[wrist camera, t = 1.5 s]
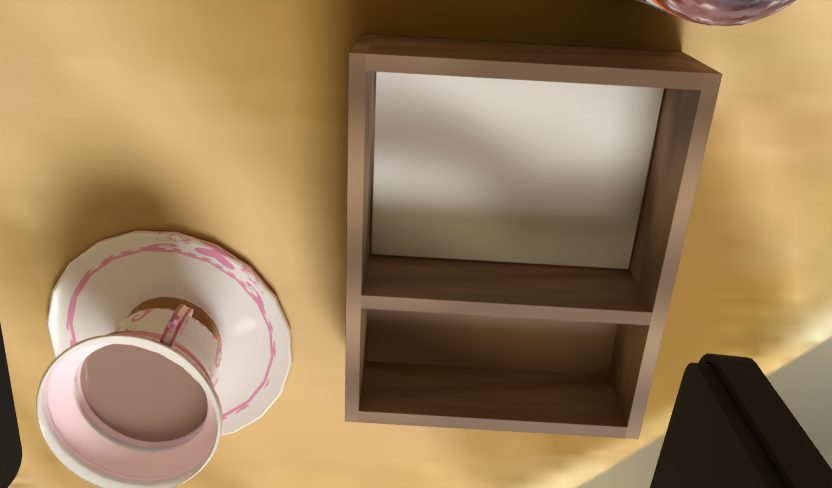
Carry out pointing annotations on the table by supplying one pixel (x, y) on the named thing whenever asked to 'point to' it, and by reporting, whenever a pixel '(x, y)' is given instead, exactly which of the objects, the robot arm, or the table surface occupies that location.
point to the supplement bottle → (719, 10)
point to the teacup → (157, 359)
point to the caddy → (515, 229)
